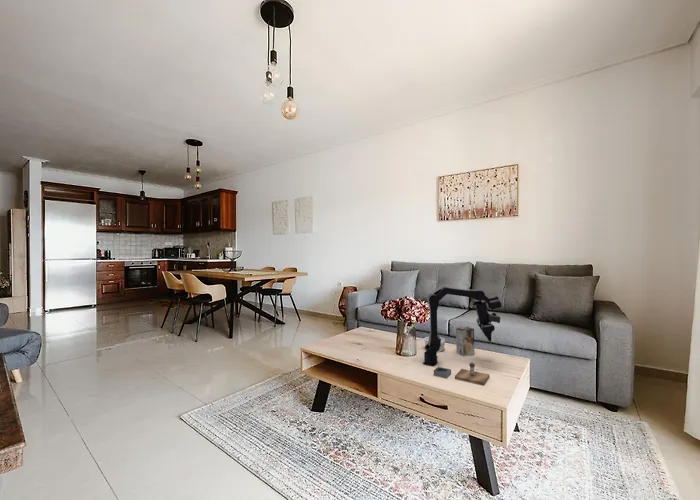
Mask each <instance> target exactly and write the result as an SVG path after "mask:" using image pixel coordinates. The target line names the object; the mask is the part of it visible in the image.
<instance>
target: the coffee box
mask: <svg viewBox="0 0 700 500" xmlns="http://www.w3.org/2000/svg"><path fill="white" fill-rule="evenodd" d="M455 332H456V333H455V336H456V338H455V339H456V341H455V343H456V345H455V347H456V349H455V350H456V355H459V356H462V357H467V356H472V355H475V354H476V353H475V328H472V327H469V326H464V327H463V326H461V327H456V328H455Z"/></svg>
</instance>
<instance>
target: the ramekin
mask: <svg viewBox="0 0 700 500" xmlns="http://www.w3.org/2000/svg"><path fill="white" fill-rule="evenodd" d="M439 337H440V336H439ZM440 339H441V347H440V349H439V350H438V351H437V353H441V352H443V351H444V349H445V345H446V339H445V338H444V337H440ZM423 341H424V347H425V346H426V345H427V344H428V341H429V336H426V337H424V339H423Z"/></svg>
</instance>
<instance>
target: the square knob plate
mask: <svg viewBox="0 0 700 500" xmlns="http://www.w3.org/2000/svg"><path fill="white" fill-rule="evenodd" d="M475 364H476V363H474V362H470V363H469V364H468V365H469V369H464V368H461V369H460V370H459V371H457V373H456V374H455V375H454V380H457V381H462V382H466V383H471V384H475V385H480V386H485V385H486V384H487V382H488V380H489V379H490V374H489V373H486V372H485V373H484V372H480V371H479V372H478V371H475V367H476V365H475Z"/></svg>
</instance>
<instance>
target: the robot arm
mask: <svg viewBox="0 0 700 500" xmlns="http://www.w3.org/2000/svg"><path fill="white" fill-rule="evenodd" d="M446 295H451V296H459V297H464V298H466V297H467V298H470V299H472V300H473V301H472V302H471V304H470V305H472V306H475V310H476V316H477V318H476V323H477V326H478V327H479V328H480V330H481V332H482V333H483V334H484V337H486V339H487V340H488V342H491V341H492V334H493V332H494V331H495V325H494V324H493V323H497V324H500V323H501V318H502V317H501V316H500V315H497V313H496V312H492V313H489V311H488V310H490V311H493V310H498V309H502V305H503V304H502V302H501V301H500V298H499V296H498V295H496V296H492V297H488V296H486V293H485V292H484V290H480V289H479V288H473V289H472V288H471V289H465V288H463V289H462V288H457V287H456V288H455V287H449V286H448V287H447V286H442V287H441V288H439V289H437V290H436V291H435V292H433V293H430V294H428V295H427V298H426V299H427V303H428V309H429V336H428V337H429V341H428V344H427V345H426V346H425V345H424V347H423V348H424V353H423V355H424V358H423V359H424V360H423V364H424V365H426V366H427V365H428V366H432V367H435V366H436V365H437V364H438V362H439V360H438V355H437V353H438V352H437V351H438V350H439V349H440V347H441V339H440V336H438V308H439V304H440V301H441V300H443V299H444V298H445V296H446Z"/></svg>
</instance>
